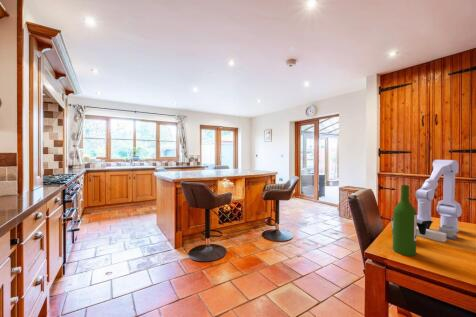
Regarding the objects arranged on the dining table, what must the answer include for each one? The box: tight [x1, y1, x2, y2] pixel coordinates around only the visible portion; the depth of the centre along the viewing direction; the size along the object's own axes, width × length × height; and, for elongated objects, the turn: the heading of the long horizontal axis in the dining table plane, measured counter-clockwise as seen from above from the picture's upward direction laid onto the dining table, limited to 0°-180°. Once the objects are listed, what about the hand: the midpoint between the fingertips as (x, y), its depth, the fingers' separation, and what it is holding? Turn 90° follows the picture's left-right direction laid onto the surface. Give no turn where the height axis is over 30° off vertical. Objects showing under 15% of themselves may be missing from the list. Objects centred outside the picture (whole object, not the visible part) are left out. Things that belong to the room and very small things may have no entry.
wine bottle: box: [392, 184, 418, 257], centre depth 101 cm, size 9×9×32 cm
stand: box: [417, 225, 458, 241], centre depth 126 cm, size 8×22×6 cm, turn 32°
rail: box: [416, 227, 447, 243], centre depth 121 cm, size 4×18×4 cm, turn 33°
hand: (423, 233), depth 121 cm, fingers closed on rail, 4 cm apart
